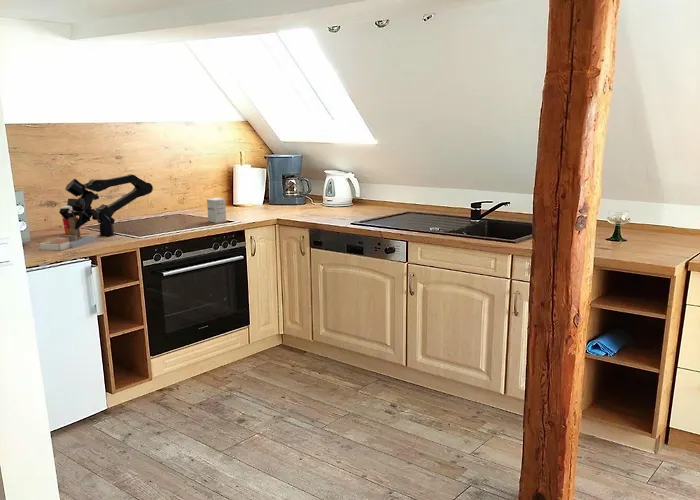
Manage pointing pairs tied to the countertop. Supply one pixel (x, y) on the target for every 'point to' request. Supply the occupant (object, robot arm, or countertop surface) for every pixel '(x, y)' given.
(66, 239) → the tile
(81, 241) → the board
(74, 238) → the scraper
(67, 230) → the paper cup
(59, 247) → the tray
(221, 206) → the supplement box
